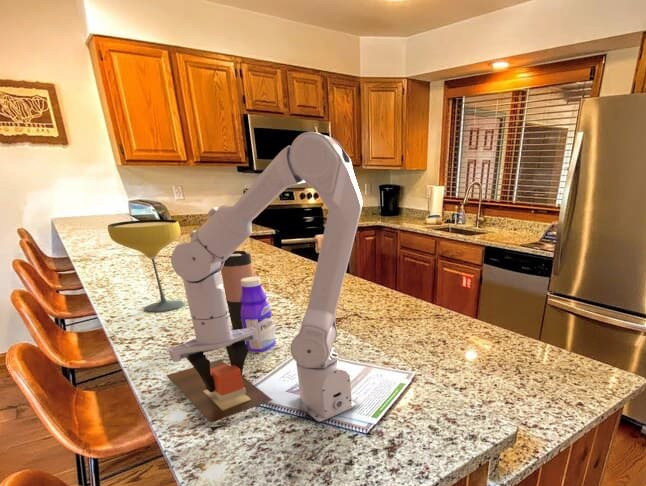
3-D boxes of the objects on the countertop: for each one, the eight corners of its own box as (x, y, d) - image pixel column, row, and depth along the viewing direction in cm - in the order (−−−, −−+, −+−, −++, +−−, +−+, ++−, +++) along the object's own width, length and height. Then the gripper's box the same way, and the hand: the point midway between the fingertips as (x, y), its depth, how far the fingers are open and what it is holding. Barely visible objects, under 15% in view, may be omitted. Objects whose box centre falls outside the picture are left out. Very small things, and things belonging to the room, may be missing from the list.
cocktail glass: (134, 302, 137) (111, 221, 126) (196, 295, 144) (179, 218, 133) (128, 319, 122) (101, 229, 111) (197, 310, 129) (178, 224, 118)
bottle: (265, 358, 97) (254, 283, 89) (243, 356, 98) (229, 282, 90) (280, 346, 103) (270, 275, 96) (259, 344, 104) (247, 274, 97)
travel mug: (228, 334, 111) (212, 256, 102) (237, 324, 117) (224, 250, 109) (257, 333, 111) (245, 256, 102) (265, 323, 118) (254, 250, 109)
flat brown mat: (273, 406, 77) (272, 398, 77) (212, 430, 71) (210, 421, 70) (221, 365, 93) (220, 358, 93) (167, 381, 87) (165, 374, 86)
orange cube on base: (246, 393, 76) (241, 369, 74) (221, 401, 73) (216, 377, 71) (228, 378, 82) (223, 355, 80) (204, 385, 79) (199, 362, 77)
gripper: (241, 300, 79) (252, 366, 84) (155, 318, 70) (175, 391, 75) (258, 308, 74) (269, 378, 80) (169, 329, 65) (188, 406, 71)
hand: (224, 385), depth 77 cm, fingers closed on orange cube on base, 4 cm apart
